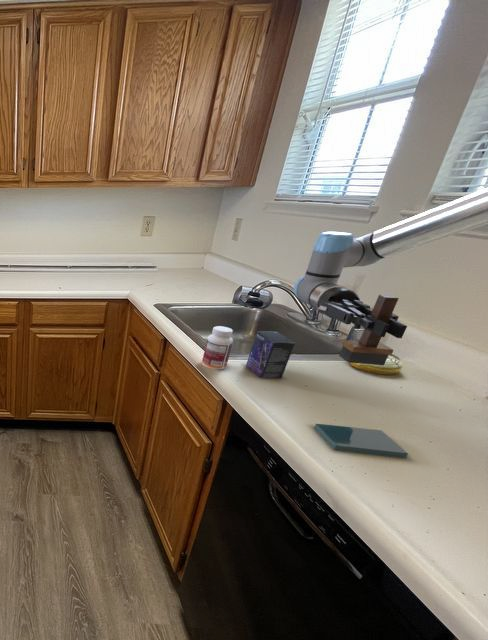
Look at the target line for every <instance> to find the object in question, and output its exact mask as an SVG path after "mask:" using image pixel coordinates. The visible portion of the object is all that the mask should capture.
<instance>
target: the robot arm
mask: <svg viewBox="0 0 488 640" xmlns="http://www.w3.org/2000/svg"><path fill="white" fill-rule="evenodd" d="M485 225H488V187H486V188H483V189H481V190H478V191H476V192H473V193H471V194H470V193H469V194H467V195H464V196H462V197H460V198H457V199H455V200H453V201H450V202H448V203H445V204H442V205H440V206H437V207H434V208H432V209H429V210H427V211H425V212H422V213H419V214H417V215H414V216H411V217H408V218H406V219H404V220H401V221H398V222H395V223H394V224H391V225H387V226H385V227H383V228H380V229H378V230H376V231H373V232H370V233H368V234H366V235H365V234H364V235H363V236H360V237H357V238H355V236H354V234H353V233H350V232H343V231H323V232H321V233H320V234H319V235H318V237H317V239H316V242H315V244H314V246H313V250H312V252H311V256H310V259H309V262H308V264H307V268H306V272H305V274H304V275H303V276H302V277H299V279H298V280H297V281H296V282H295V284H294V286H293V294H294V295H295V297H296V298H297V299H298V300H299V301H300V302H301V303H303V304H306V305H308V306H310V307H312V308H313V309H315V310H317V312H318V313H320V314H321V315H325V316H326V317H328V318H330V319H332V320H333V319H334V320H337V321H339V322H340V323H342V324H345V325H351V324H353V329H355V330H361V328H363V329H367V330H369V331H371V332H372V333H374V334H376V335H378V336H380V337H381V338H385V337H386V334H389V335H390V336H393V337H394V338H396V339H403V336H404V334H405V332H406V330H407V328H408V325H407V324H404V323H401V322H400V321H399V318H400V316H399V315H397V314H395V313H393V312H392V315H391V317H390V319H389V321H388V324H387V323H385V322H383V321H381V320H379V319H377V318H375V317H373V316H371V313H372V310H373V308H374V307H371V306H370V305H369V304H367V303H364V301H362V300H361V299H360V296H359V294H358V293H356V292H355V291H354V290H351V289H350V288H346V287H345V286H343V285H340V284H339V283H338V281H339V279H340V277H341V274H342V272H343V269H344V268H354V267H366V266H369V265H373V264H376V263H377V262H379V261H381V260H383V259H385V258H388V257H391V256H394V255H397V254H400V253H404V252H407V251H409V250H412V249H415V248H418V247H421V246H424V245H427V244H431V243H434V242H436V241H439V240H440V241H441V240H442V239H445V238H449V237H452V236H455V235H458V234H461V233H464V232H467V231H470V230H472V229H473V230H474V229H475V228H479V227H482V226H485Z"/></svg>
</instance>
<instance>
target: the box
mask: <svg viewBox="0 0 488 640" xmlns="http://www.w3.org/2000/svg"><path fill="white" fill-rule="evenodd" d="M295 345H296V342H295V341H293V340H291V339H289V338H288V337H287V336H285V335H284V334H282V333H280V332H279V331H273V330H258V331H256V334H255V337H254V340H253V343H252V346H251V348H250V352H249V354H248V358H247V361H246V364H245V367H247V368H248V369H249V370H250V371H251V372H253V373H254V374H255V375H256V376H257V377H259V378H261V379H283V375H284V373H285V371H286V368H287V365H288V362H289V359H290V357H291V355H292V352H293V350H294V348H295Z"/></svg>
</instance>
